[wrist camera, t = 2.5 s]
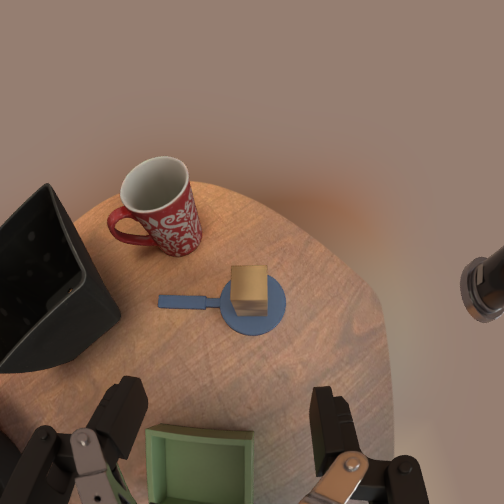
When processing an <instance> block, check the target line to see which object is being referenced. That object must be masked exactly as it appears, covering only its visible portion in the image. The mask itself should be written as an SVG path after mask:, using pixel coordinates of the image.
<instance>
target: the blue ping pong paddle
mask: <svg viewBox="0 0 504 504" xmlns="http://www.w3.org/2000/svg"><path fill="white" fill-rule="evenodd" d="M267 286H268V314H267V316H237V314H236V312H235V309H234V307H233V305H232V303H231V300H230V289H231V280H230V281H229V282H228V283H227V284H226V285H225V287H224V289H223V290H222V293H221V296H220V298H207V297H206V296H180V295H159V300H158V307H159V308H172V309H206V307H210V308H220V311H221V314H222V316H223V319H224V320H225V322H226V323H227V324H228V325H229V326H230V327H231V328H232V329H233V330H235V331H236V332H238V333H241V334H244V335H250V336H255V335H261V334H264V333H267V332H269V331H270V330H272V329H273V328H275V327H276V326H277V325H278V323H279V322H280V321H281V319H282V317H283V315H284V312H285V307H286V298H285V294H284V291H283V289H282V287H281V286H280V284H279V283H278V282H277V281H276V280H275V279H274V278H273V277H271V276H269V275H267Z"/></svg>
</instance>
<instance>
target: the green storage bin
mask: <svg viewBox="0 0 504 504" xmlns="http://www.w3.org/2000/svg"><path fill="white" fill-rule="evenodd" d="M145 433H146V468H147V485H148V497H149V504H150V502H153V503H157V504H253V479H254V431H228V430H212V429H201V428H191V427H183V426H175V425H168V424H158V425H155V426H152V427H149V428H146V429H145Z"/></svg>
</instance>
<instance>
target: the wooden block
mask: <svg viewBox="0 0 504 504" xmlns="http://www.w3.org/2000/svg"><path fill="white" fill-rule="evenodd" d="M230 300H231V303H232V305H233V307H234V309H235V312H236V314H237V316H267V314H268V286H267V265H262V266H231V289H230Z"/></svg>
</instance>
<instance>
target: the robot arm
mask: <svg viewBox="0 0 504 504" xmlns="http://www.w3.org/2000/svg"><path fill="white" fill-rule="evenodd" d="M472 288H473V292H474V295H475V298H476V300H477V302H478V303H479V305H480V306H481V307H482V308H483V309H484V310H485V311H487V312H491V313H493V312H496V311H498V310H500V309H502V308H503V307H504V246H503V247H501V248H500V249H499V250H498V251H497V252H495V253H494V254H493V255H491V256H490V257H489V258H487V259H486V260H485V261H483V262H481V263H480V264H479V265H477V266H476V268H475V269H474V271H473V275H472ZM147 409H148V398H147V395H146V393H145V390H144V387H143V385H142V382H141V379H140V378H137V377H131V376H123V378H122V379H121V381H120V383H119V384H114V385H113V386H111V387H110V388H109V389H108V390H107V391H106V393H105V395H104V396H103V399H102V400H101V401H100V403H99V405H98V407H97V408H96V410H95V412H94V414H93V416H92V417H91V419H90V421H89V423H88V424H87V426H86V428H80V429H77V430H76V431H74V432H73V434H62V433H57V432H56V431H55V430H54V429H53V428H52V427H51V426H48V425H44V426H40V427H38V428H37V429H36V430H35V432H34V433H33V435H32V437H31V439H30V440H29V442H28V444H27V446H26V448H25V449H24V451H23V453H22V455H21V457H20V459H19V461H18V463H17V465H16V467H15V469H14V471H13V473H12V475H11V477H10V479H9V481H8V483H7V485H6V487H5V490H4V492H3V494H2V496H1V498H0V504H68V501H69V499H70V496H71V493H72V490H73V488H74V485H75V483H76V486H77V490H78V493H79V496H80V499H81V502H82V504H137V503H136V501H135V500H134V498H133V497H132V495H131V494H130V492H129V489H128V487H127V485H126V483H125V480H124V478H123V476H122V473H121V471H120V468H119V466H118V464H117V461H118V459H119V458H122V459H125V460H127V459H128V456H129V453H130V451H131V448H132V446H133V443H134V441H135V438H136V436H137V433H138V431H139V428H140V426H141V424H142V421H143V419H144V416H145V414H146V411H147ZM309 419H310V427H311V435H312V444H313V452H314V461H315V470H316V477H322V476H323V477H322V478H321V479H320V481H319V482H318V483H317V484H316V486H315V487H314V488H313V489H312V491H311V492H310V493H309V494H307V495H306V496H305V497H304V498H303V499H302V500H301V501H300V502H299V503H298V504H346V503H347V501H348V500H349V499H354V500H365V501H368V502H369V504H429V500H428V496H427V492H426V488H425V484H424V480H423V476H422V472H421V469H420V465H419V463H418V461H417V460H416V459H415V458H414V457H412V456H408V455H402V456H398V457H396V458H394V459H393V460H392V461H380V460H373V459H370V458H368V457H366V456H365V455H364V454H363V453H362V452H361V450H360V447H359V443H358V439H357V435H356V431H355V427H354V423H353V419H352V416H351V412H350V408H349V404H348V403H347V402H346V401H345V399H344V398H343V397H342V396H338V397H333V394H332V389H331V387H330V386H324V387H314V388H313V392H312V398H311V403H310V409H309ZM52 463H53V464H52ZM51 465H52V466H51ZM50 467H51V468H50ZM49 469H50V470H49ZM48 471H49V473H48ZM47 474H48V475H47ZM46 476H47V477H46ZM150 504H157V503H153V502H150Z"/></svg>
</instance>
